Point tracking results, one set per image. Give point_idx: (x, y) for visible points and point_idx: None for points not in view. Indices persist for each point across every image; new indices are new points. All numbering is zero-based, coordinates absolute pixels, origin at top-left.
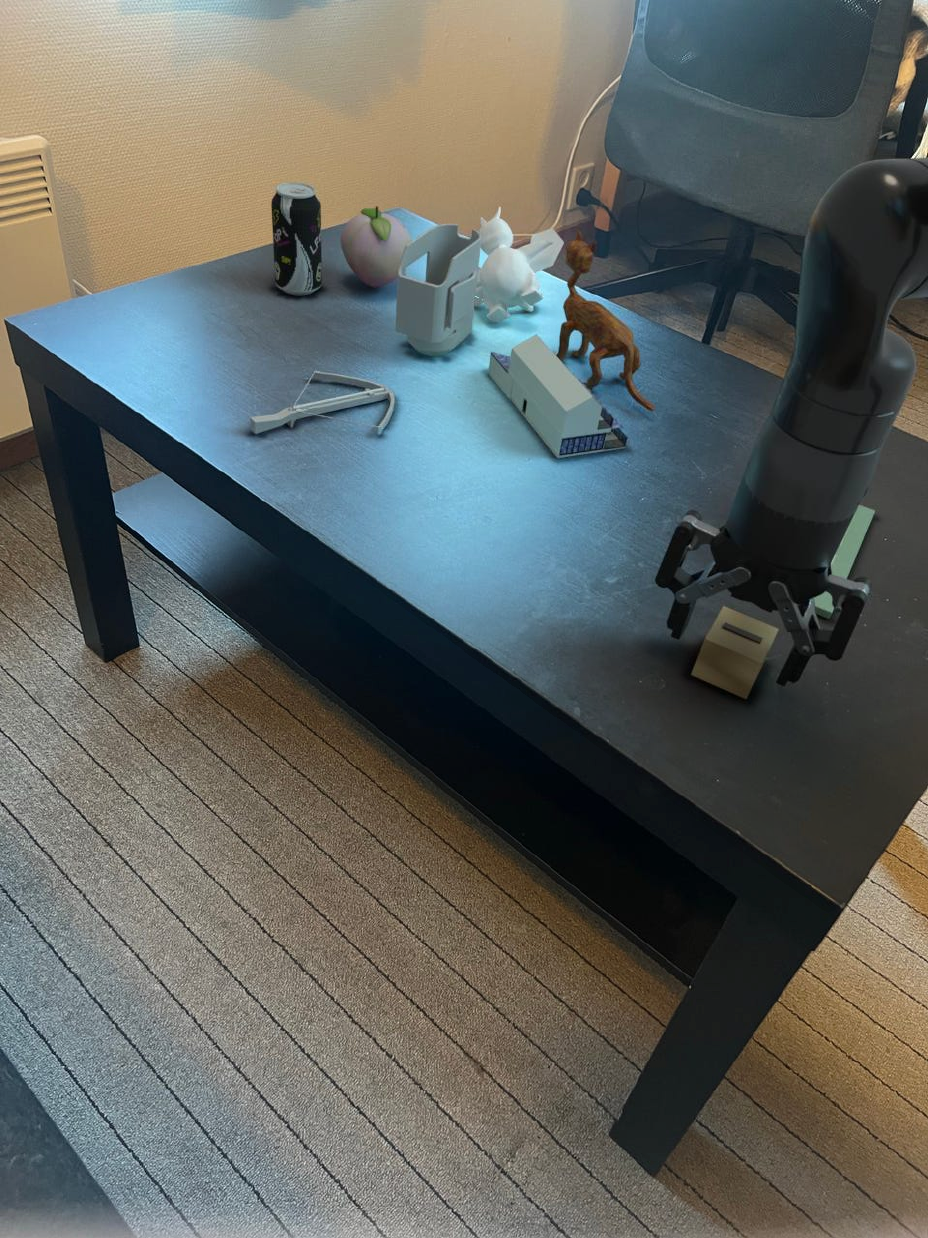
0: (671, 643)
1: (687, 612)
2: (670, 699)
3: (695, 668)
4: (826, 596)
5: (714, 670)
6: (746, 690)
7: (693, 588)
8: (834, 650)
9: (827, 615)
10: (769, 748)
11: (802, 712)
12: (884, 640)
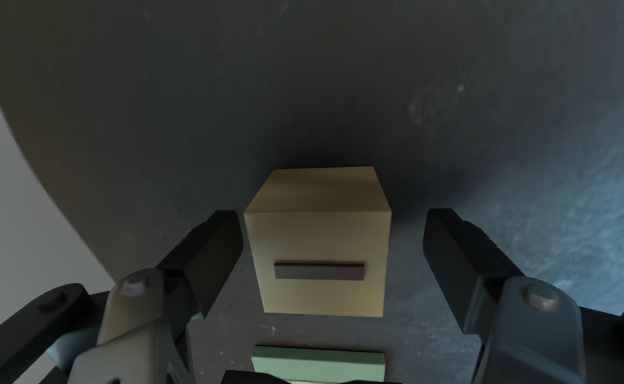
0: (425, 214)
1: (472, 260)
2: (388, 81)
3: (372, 173)
4: (268, 373)
5: (338, 178)
6: (274, 176)
7: (559, 354)
8: (40, 313)
9: (256, 350)
10: (192, 86)
11: (198, 195)
12: (195, 343)
